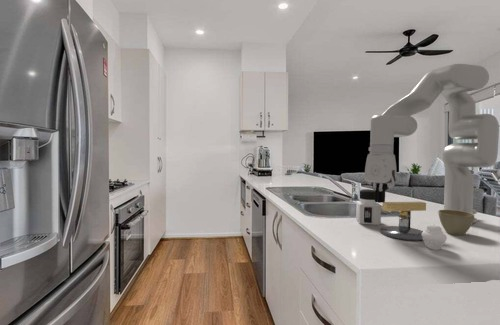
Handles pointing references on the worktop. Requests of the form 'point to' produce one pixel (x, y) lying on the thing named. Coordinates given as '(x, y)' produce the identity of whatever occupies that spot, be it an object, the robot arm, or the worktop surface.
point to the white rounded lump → (434, 237)
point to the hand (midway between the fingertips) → (379, 201)
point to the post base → (402, 235)
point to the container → (368, 208)
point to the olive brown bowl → (456, 221)
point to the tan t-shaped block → (404, 207)
